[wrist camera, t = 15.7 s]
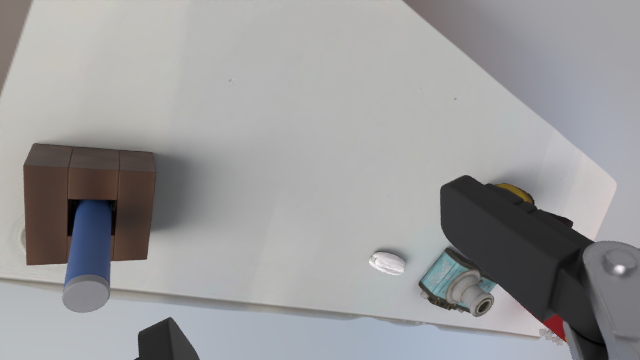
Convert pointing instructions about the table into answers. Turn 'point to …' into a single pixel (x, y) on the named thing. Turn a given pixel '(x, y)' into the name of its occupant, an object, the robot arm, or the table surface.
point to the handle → (89, 257)
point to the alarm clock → (553, 329)
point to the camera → (458, 285)
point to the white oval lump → (388, 263)
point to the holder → (86, 183)
